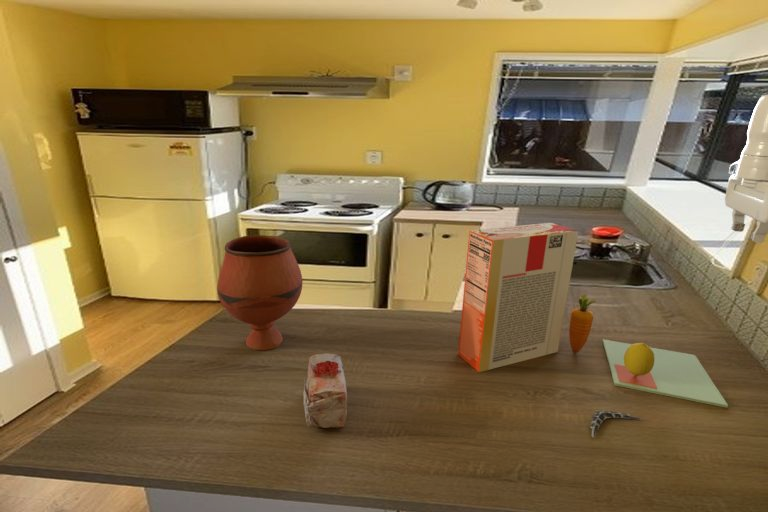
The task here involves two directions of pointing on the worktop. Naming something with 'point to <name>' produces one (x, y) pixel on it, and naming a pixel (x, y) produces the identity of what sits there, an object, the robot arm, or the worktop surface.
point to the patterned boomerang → (602, 415)
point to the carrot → (580, 324)
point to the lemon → (639, 359)
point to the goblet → (259, 285)
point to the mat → (665, 375)
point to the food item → (325, 392)
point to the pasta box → (515, 293)
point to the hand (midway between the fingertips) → (746, 236)
